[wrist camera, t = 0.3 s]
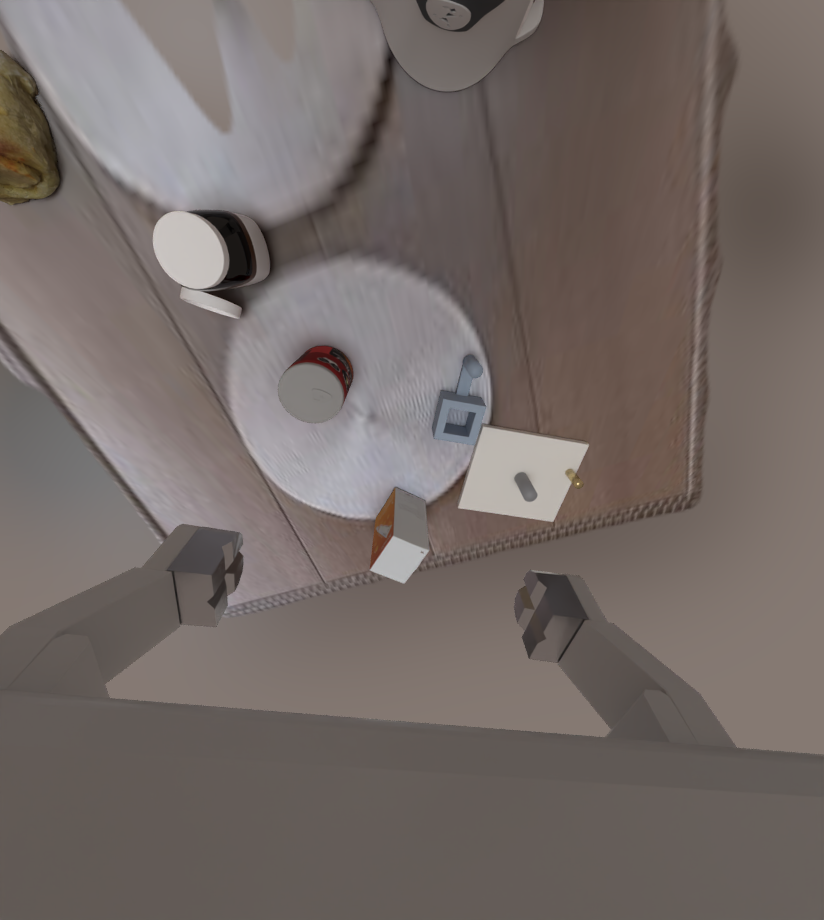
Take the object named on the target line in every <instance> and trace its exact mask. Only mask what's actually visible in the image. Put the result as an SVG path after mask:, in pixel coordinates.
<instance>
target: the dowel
mask: <svg viewBox="0 0 824 920" xmlns="http://www.w3.org/2000/svg"><path fill="white" fill-rule="evenodd" d="M565 475H566V476H567V477H568V479H569V480H570V481H571V482H572V484H573V485H574V486H575V488H577V489H580V488H582V487H583V485H584V484H583V482H582V481H581V479H580V478H579V477H578V476H577V474H576V473H575V472H574V471H573V470H572V469H567V470H566V471H565Z"/></svg>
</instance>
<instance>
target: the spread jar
mask: <svg viewBox="0 0 824 920" xmlns="http://www.w3.org/2000/svg"><path fill="white" fill-rule="evenodd" d="M153 246H154V251H155V254H156V257H157V259H158V261H159V263H160V265H161V266H162V268H163V269H164V271H165V272H166V273H167V274H168V275H169V276H170V277H171V278H172V279H174V280H175V281H176V282H178V283H179V284H180V285H182V286H183V287H182V288H181V294H180V299H182V300H184V301H186V302H188V303H191V304H193V305H196V306H198V307H201V308H204V309H207V310H210V311H213V312H216V313H219V314H222V315H225V316H229V317H233V318H237V319H240V315H241V311H242V308H241V307H239V306H238V305H236V304H233V303H231V302H229V301H226V300H224V299H221V298H219V297H216V296H213V295H210V294H207V293H204V292H201V291H219V290H226V289H232V288H238V287H244V286H248V285H251V284H254V283H257V282H260V281H262V280H264V279H265V278H266V277H267V276H268V274H269V272H270V258H269V252H268V248H267V245H266V242H265V239H264V237H263V234H262V232H261V230H260V229H259V227H258V225H257V224H256V223H255V221H254V220H252V219H251V218H249V217H247V216H244V215H241V214H237V213H233V212H228V211H220V210H193V211H187V212H183V211H173V212H170V213H167V214H166V215H164V216H162V217H161V218H160V220H159V221H158V222H157V224H156V226H155V228H154V233H153Z"/></svg>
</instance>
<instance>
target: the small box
mask: <svg viewBox="0 0 824 920" xmlns="http://www.w3.org/2000/svg"><path fill="white" fill-rule="evenodd" d="M428 552H429V540H428V528H427V516H426V503H425V500H423V499H421V498H418V497H416V496H414V495H412V494H410V493H407V492H405V491H403V490H400V489H398V488H396V487H395V488H394V490H393V492H392V494H391V495H390V497H389V499H388V500H387V502H386V503H385V505H384V507H383V508H382V510H381V511H380V513H379V514H378V516H377V517H376V520H375V529H374V538H373V546H372V555H371V563H370V571H373V572H375V573H378V574H380V575H383V576H386V577H388V578H391V579H393V580H396V581H399V582H401V583H405V582H406V581H407V579H408V578H409V577H410V576H411V574H412V573H413V572H414V571H415V570H416V568H417V567H418V566H419V564H420V563H421V561H422V560H423V558H424V557H425V556H426V554H427V553H428Z"/></svg>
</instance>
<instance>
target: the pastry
mask: <svg viewBox="0 0 824 920" xmlns="http://www.w3.org/2000/svg"><path fill="white" fill-rule="evenodd" d="M37 95H38V89H37V86H36V82H35V80H34V79H33V77H32V76H31V75H30V74H29V73H27V72H25V70H24V69H23V68H22V67H21V66H19V65H18V64H17V63H16V62H15V61H14V60H13V59H12V58H10V57H9V56H8V55H7V54H6V53H5V52H3V51H2V50H0V201H3V202H5V203H7V204H9V205H13V204H15V203H23V202H29V199H35V200H36V199H41V198H45V197H47V196H49V195H51V194H52V193H53V192H54V191H55V190H56V188H57V187H58V186H59V182H60V178H59V172H58V168H57V162H58V161H57V153H56V150H55V144H54V141H53V138H52V137H51V134H50V131H49V125H48V124H47V121H46V119H45V116H44V114H43V112H42V111H41V109H40V107H39V106H41V105H40V104H39V103H38V101H37V100H36V99H35V96H37Z"/></svg>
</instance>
